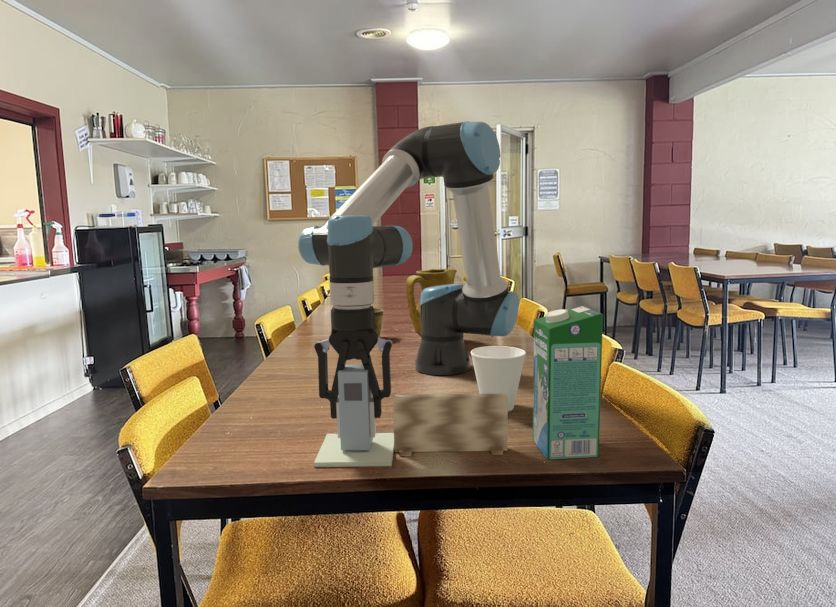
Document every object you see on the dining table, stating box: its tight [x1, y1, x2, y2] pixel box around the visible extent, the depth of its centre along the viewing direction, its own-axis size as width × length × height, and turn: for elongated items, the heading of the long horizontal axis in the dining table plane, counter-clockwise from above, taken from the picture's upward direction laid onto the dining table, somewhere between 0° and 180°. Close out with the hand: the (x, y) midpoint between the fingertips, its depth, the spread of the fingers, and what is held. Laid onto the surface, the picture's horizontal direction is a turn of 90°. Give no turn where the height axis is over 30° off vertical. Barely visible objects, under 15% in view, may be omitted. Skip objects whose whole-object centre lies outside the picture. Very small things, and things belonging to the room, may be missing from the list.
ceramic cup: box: [373, 307, 384, 338], centre depth 199 cm, size 13×10×10 cm
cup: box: [470, 345, 527, 412], centre depth 123 cm, size 12×12×12 cm
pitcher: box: [405, 268, 458, 337], centre depth 188 cm, size 17×19×25 cm
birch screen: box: [392, 393, 509, 457], centre depth 101 cm, size 20×5×10 cm, turn 89°
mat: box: [313, 432, 395, 468], centre depth 101 cm, size 13×13×1 cm
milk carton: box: [532, 305, 604, 460], centre depth 99 cm, size 9×9×25 cm
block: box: [338, 364, 373, 450], centre depth 100 cm, size 5×5×14 cm
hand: (357, 434), depth 101 cm, fingers closed on block, 5 cm apart
